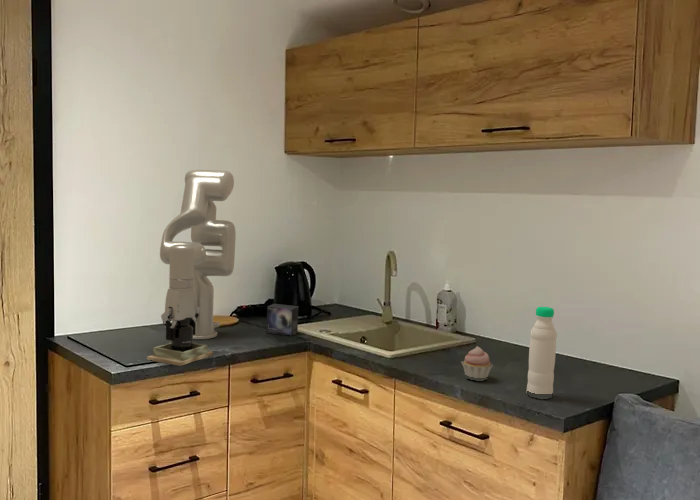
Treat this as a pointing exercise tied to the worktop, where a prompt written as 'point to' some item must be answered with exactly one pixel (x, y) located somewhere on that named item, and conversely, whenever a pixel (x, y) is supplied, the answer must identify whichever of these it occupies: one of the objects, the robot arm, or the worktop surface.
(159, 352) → the board
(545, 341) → the white milk bottle
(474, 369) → the cupcake
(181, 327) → the supplement bottle
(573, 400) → the worktop surface
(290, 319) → the small box
